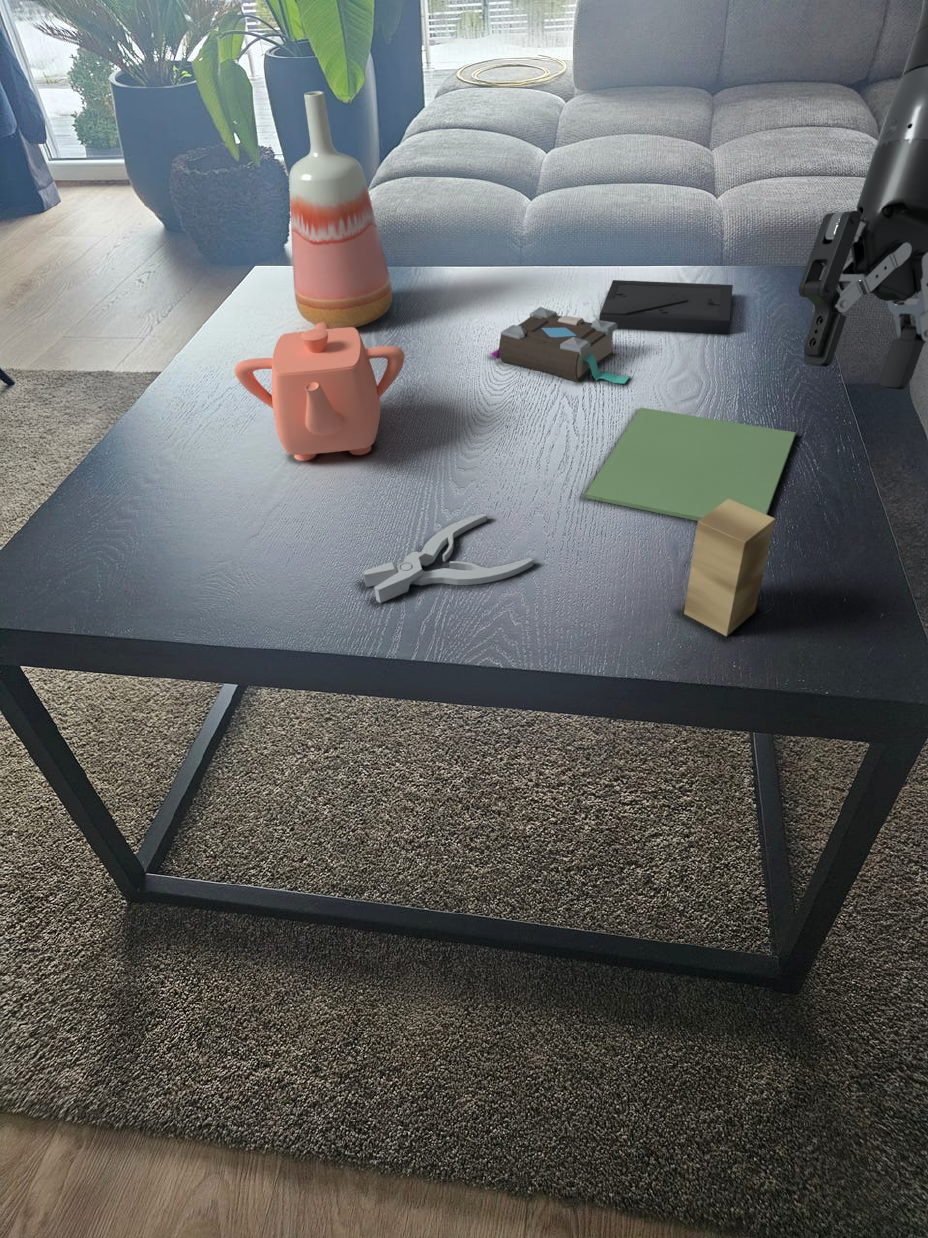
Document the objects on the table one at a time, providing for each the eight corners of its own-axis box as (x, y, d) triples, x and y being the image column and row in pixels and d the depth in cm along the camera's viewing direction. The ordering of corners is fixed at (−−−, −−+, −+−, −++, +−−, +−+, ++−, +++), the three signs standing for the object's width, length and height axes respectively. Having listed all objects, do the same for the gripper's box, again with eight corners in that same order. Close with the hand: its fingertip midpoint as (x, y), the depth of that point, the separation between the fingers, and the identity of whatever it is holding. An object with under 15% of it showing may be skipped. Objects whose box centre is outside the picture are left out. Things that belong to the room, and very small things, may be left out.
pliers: (534, 553, 81) (391, 609, 76) (534, 567, 82) (393, 623, 77) (482, 504, 88) (348, 553, 83) (483, 517, 89) (350, 566, 84)
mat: (794, 436, 97) (796, 432, 97) (760, 534, 84) (761, 529, 83) (640, 411, 103) (640, 407, 103) (585, 498, 90) (585, 493, 90)
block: (712, 590, 78) (728, 498, 71) (755, 611, 75) (775, 518, 69) (683, 613, 76) (697, 521, 69) (726, 636, 73) (745, 542, 67)
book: (658, 357, 114) (661, 320, 111) (613, 394, 107) (615, 356, 104) (532, 328, 124) (532, 293, 120) (483, 360, 116) (482, 324, 113)
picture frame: (599, 327, 122) (727, 334, 118) (599, 312, 121) (730, 318, 117) (611, 292, 132) (731, 297, 128) (612, 277, 130) (733, 282, 126)
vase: (317, 298, 137) (281, 83, 117) (404, 300, 134) (382, 80, 115) (286, 336, 126) (240, 106, 107) (380, 338, 124) (350, 104, 104)
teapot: (331, 396, 111) (313, 295, 102) (425, 427, 103) (415, 321, 95) (234, 454, 101) (205, 348, 93) (331, 493, 94) (309, 381, 85)
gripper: (908, 110, 56) (827, 361, 61) (1037, 176, 63) (955, 400, 67) (822, 128, 63) (754, 354, 67) (947, 187, 69) (877, 390, 73)
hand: (854, 376), depth 67 cm, fingers open, 8 cm apart
